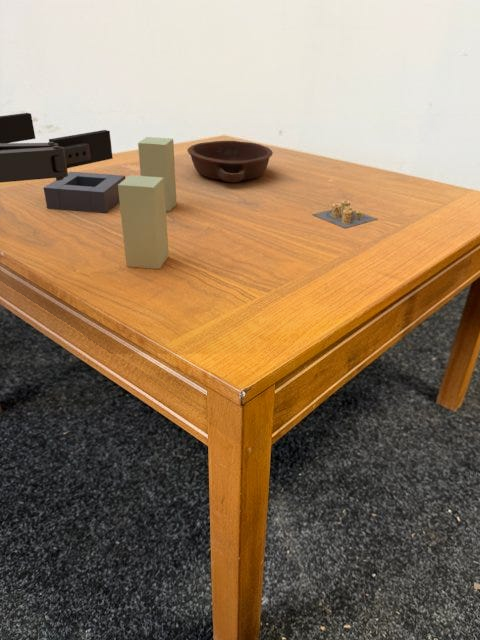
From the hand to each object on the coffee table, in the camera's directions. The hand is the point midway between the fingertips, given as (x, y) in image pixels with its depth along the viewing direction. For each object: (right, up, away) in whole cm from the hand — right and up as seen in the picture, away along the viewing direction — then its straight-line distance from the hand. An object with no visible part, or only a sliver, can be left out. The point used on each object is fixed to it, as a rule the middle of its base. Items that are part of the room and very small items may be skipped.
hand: (68, 134), depth 60 cm
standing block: (+3, +2, +36) cm, 36 cm away
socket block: (-10, +3, +37) cm, 39 cm away
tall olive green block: (+5, -11, +16) cm, 20 cm away
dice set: (+35, -1, +35) cm, 50 cm away
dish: (+14, +13, +56) cm, 59 cm away
